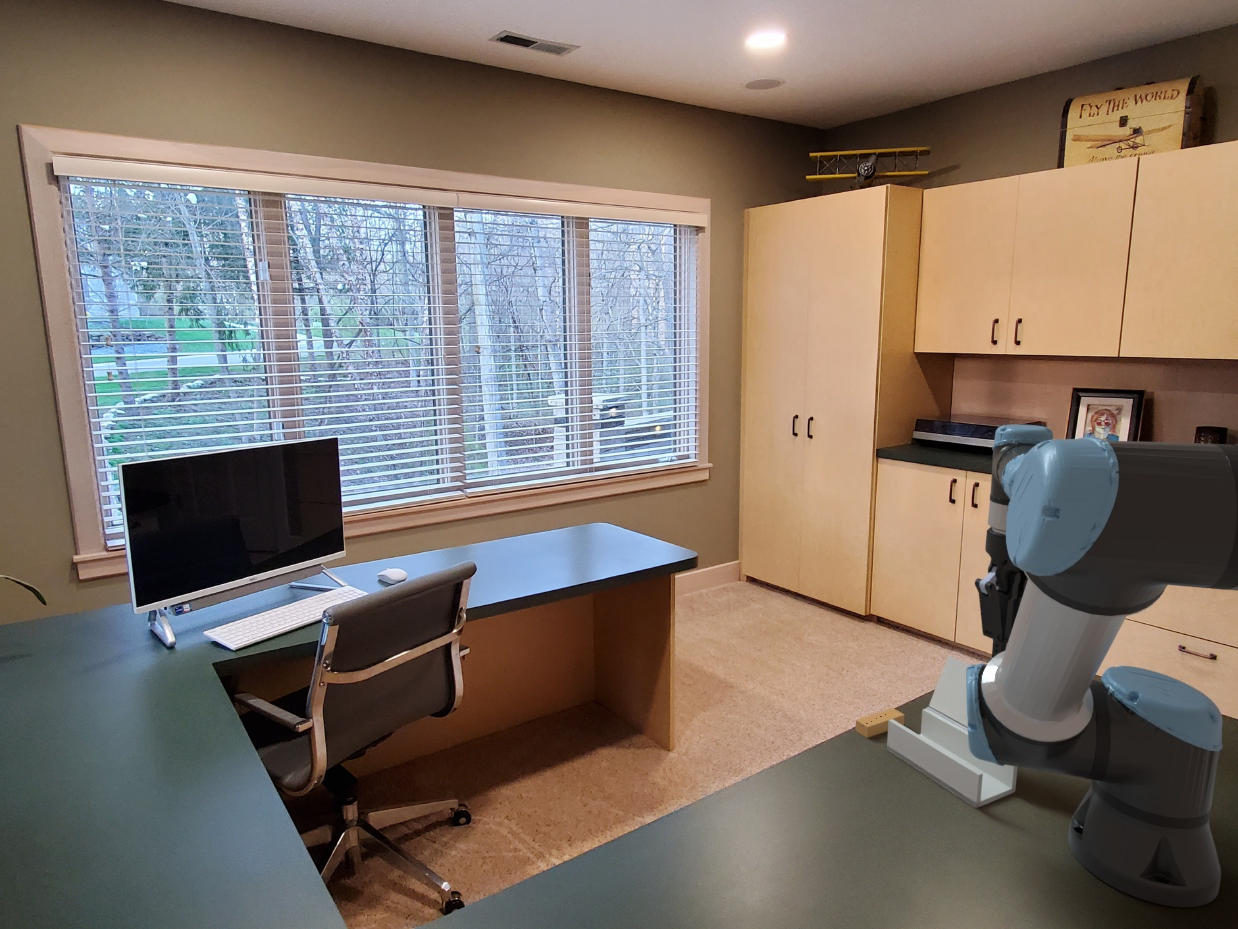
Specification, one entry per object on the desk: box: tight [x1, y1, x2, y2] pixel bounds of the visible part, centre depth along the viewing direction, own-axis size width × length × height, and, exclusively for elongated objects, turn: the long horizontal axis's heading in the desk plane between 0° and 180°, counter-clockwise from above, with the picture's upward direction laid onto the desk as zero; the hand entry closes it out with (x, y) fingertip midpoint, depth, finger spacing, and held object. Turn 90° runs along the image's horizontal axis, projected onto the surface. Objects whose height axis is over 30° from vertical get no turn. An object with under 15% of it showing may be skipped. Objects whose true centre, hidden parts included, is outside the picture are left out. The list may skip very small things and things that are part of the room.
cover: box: [926, 654, 970, 731], centre depth 111 cm, size 16×10×1 cm
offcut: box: [855, 707, 905, 739], centre depth 122 cm, size 2×8×2 cm
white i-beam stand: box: [886, 707, 1019, 809], centre depth 109 cm, size 16×8×5 cm, turn 26°
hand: (1002, 678), depth 114 cm, fingers closed
